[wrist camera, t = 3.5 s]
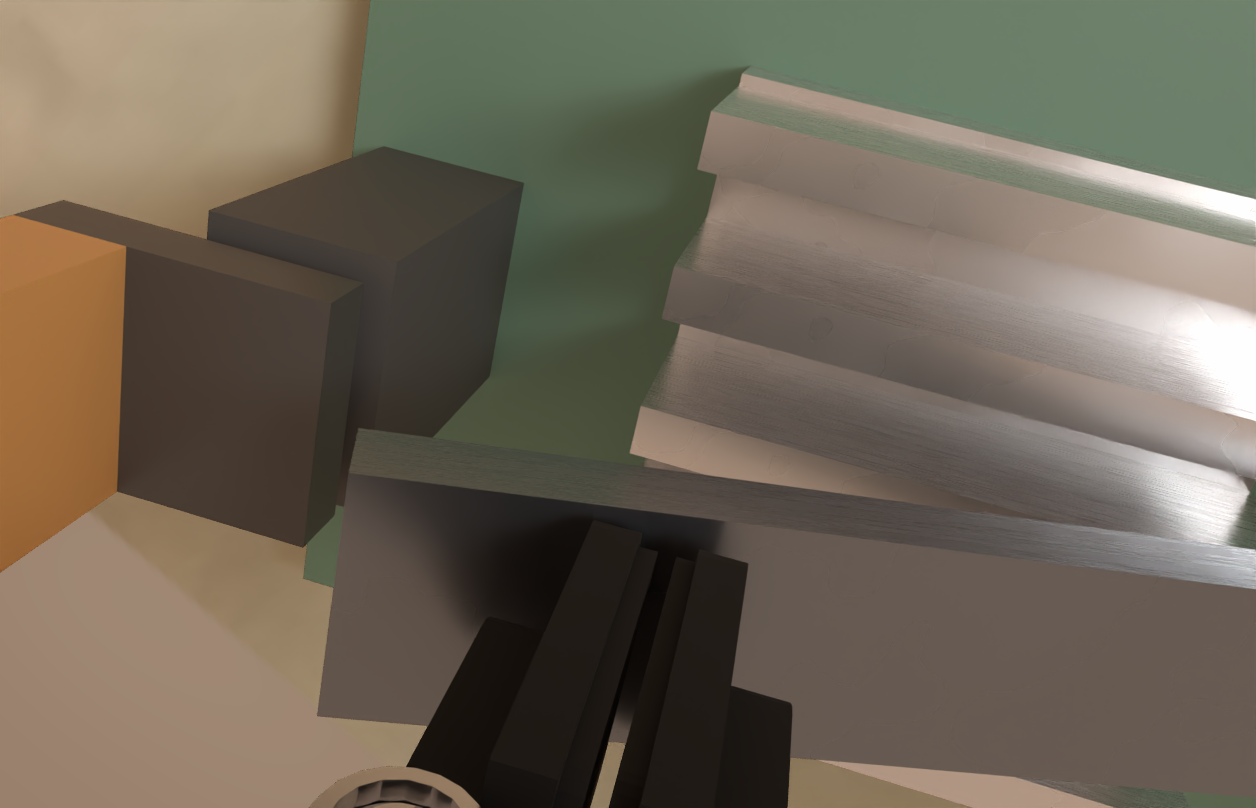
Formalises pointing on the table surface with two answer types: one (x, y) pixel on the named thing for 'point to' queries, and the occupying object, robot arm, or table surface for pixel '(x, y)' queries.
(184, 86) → the table surface
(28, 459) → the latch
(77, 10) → the table surface
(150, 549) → the table surface
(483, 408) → the board
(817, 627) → the strap
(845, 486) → the heat sink
